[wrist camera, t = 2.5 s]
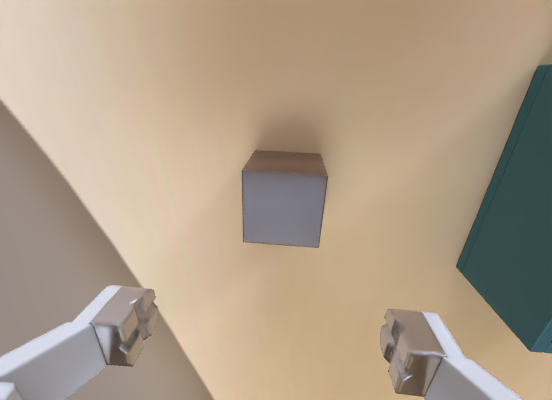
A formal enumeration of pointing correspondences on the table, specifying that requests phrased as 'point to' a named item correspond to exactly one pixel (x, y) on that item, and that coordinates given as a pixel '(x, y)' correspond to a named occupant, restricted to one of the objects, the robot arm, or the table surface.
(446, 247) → the table surface
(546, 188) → the container
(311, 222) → the block
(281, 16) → the table surface
